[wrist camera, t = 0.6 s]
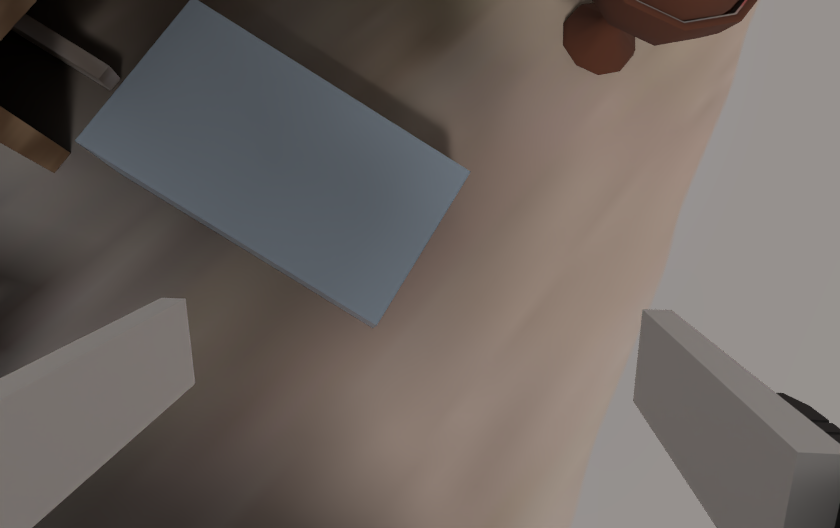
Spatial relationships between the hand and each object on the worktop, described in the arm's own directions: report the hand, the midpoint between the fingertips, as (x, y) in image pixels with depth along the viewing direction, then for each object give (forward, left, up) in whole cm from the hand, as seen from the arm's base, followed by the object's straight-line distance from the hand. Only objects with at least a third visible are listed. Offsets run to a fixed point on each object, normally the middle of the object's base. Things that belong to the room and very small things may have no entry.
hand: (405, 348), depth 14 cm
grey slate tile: (+6, +10, -17) cm, 20 cm away
